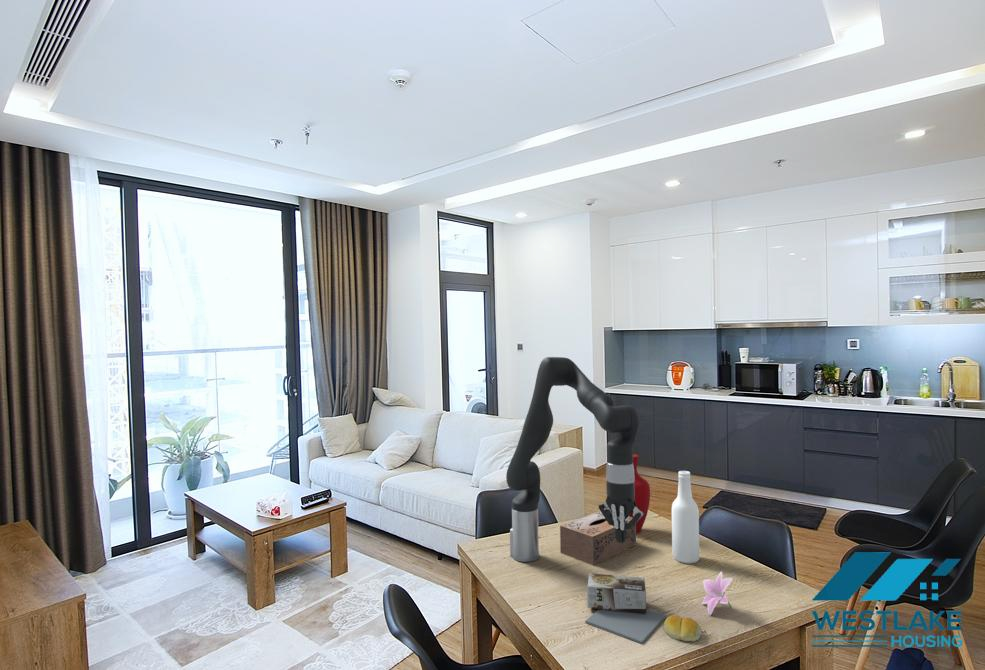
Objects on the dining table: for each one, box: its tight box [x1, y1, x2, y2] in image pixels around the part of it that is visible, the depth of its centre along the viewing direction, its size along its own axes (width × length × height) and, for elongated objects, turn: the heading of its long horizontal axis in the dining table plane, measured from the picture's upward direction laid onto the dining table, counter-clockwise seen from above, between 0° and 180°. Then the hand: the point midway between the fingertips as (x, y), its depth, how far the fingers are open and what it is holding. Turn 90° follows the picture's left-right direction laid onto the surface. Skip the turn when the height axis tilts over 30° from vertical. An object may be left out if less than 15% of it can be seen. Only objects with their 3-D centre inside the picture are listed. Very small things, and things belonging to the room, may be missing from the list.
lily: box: [700, 571, 733, 616], centre depth 150 cm, size 12×12×10 cm
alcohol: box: [671, 470, 700, 565], centre depth 183 cm, size 9×9×30 cm
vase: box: [629, 453, 651, 534], centre depth 210 cm, size 15×15×30 cm
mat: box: [585, 608, 667, 645], centre depth 145 cm, size 16×16×1 cm
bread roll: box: [663, 614, 702, 643], centre depth 138 cm, size 8×9×4 cm
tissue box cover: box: [559, 510, 637, 566], centre depth 193 cm, size 26×14×10 cm, turn 132°
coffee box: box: [587, 573, 648, 614], centre depth 152 cm, size 9×6×16 cm
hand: (621, 542), depth 145 cm, fingers closed
